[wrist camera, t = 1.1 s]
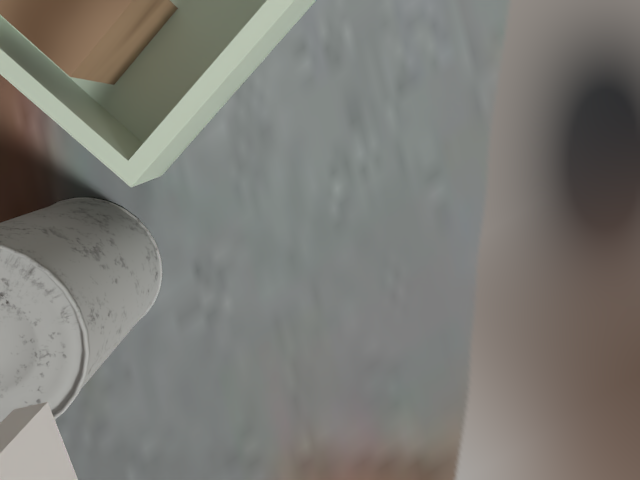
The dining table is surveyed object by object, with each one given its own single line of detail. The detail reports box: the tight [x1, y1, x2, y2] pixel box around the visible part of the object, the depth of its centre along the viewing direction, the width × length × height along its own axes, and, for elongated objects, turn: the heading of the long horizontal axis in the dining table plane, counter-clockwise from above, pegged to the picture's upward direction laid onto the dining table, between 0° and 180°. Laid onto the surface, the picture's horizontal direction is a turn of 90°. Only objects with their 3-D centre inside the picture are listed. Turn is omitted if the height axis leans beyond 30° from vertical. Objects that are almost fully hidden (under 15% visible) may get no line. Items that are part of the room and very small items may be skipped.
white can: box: [0, 198, 162, 423], centre depth 29 cm, size 10×10×12 cm
